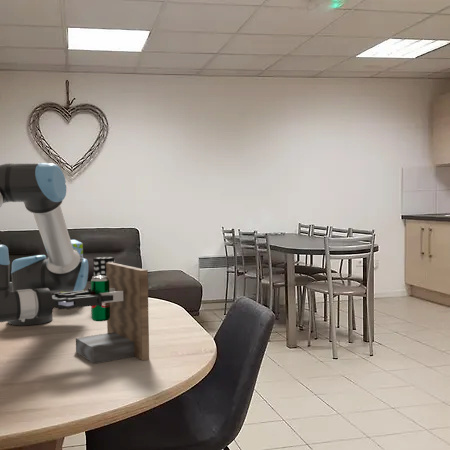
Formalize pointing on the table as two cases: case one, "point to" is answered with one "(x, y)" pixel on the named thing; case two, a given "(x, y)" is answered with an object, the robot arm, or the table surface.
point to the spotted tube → (101, 265)
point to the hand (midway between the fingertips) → (118, 294)
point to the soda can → (99, 286)
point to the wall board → (122, 319)
